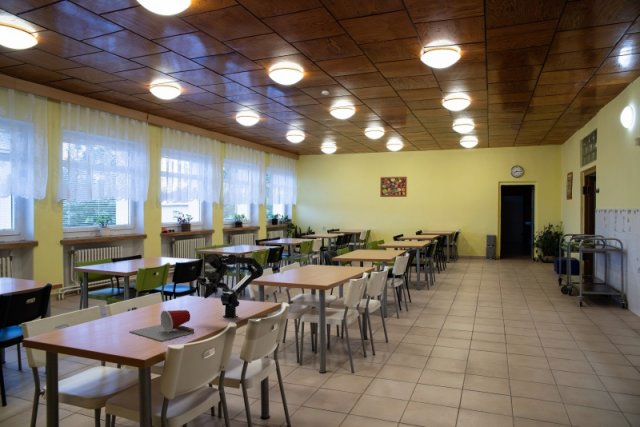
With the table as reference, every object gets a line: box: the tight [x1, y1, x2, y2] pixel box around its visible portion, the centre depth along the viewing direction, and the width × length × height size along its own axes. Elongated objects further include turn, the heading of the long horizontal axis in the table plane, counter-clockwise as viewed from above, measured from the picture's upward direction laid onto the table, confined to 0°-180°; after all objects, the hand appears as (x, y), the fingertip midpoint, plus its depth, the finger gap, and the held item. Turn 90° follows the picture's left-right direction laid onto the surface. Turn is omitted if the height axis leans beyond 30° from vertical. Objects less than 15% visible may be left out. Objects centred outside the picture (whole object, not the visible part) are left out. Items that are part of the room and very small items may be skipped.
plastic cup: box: [159, 309, 191, 332], centre depth 219 cm, size 11×11×12 cm
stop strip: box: [160, 322, 195, 334], centre depth 223 cm, size 2×24×2 cm, turn 54°
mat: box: [128, 324, 193, 343], centre depth 215 cm, size 17×26×1 cm, turn 54°
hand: (204, 297), depth 237 cm, fingers closed
